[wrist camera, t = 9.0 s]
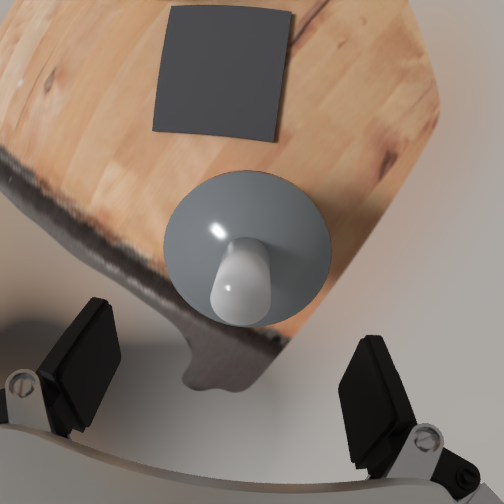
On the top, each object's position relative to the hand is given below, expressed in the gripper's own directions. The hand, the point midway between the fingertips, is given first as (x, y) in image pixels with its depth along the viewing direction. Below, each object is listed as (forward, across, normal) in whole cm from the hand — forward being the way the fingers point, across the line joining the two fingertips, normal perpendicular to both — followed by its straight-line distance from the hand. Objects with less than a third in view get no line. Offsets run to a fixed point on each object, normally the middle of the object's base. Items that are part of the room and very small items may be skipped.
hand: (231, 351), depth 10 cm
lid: (+10, 0, +1) cm, 10 cm away
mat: (+22, +5, -13) cm, 26 cm away
